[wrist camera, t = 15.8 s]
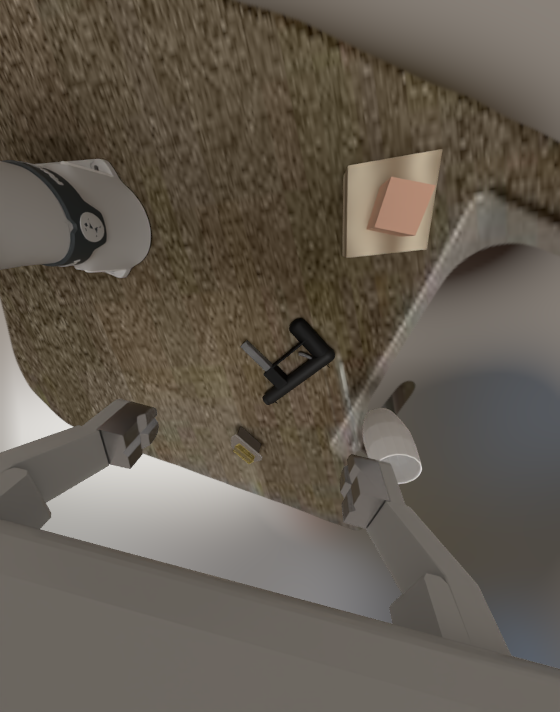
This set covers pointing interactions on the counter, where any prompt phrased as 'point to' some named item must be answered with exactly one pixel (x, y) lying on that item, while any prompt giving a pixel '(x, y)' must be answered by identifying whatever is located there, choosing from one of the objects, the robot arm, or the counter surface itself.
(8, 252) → the robot arm
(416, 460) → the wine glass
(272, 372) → the black clamp
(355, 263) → the counter surface
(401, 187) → the terracotta block
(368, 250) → the birch box
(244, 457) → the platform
